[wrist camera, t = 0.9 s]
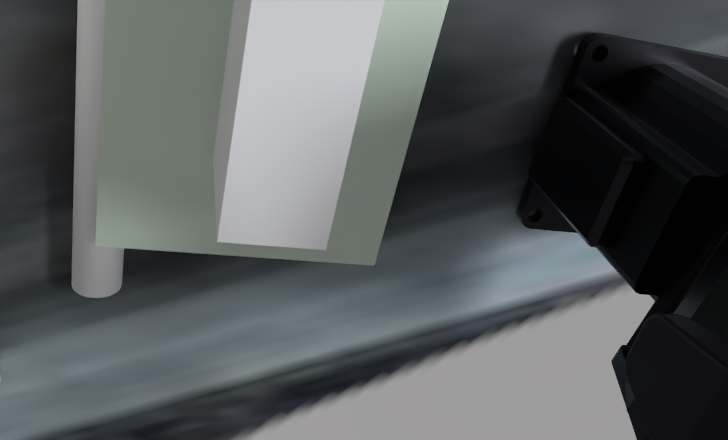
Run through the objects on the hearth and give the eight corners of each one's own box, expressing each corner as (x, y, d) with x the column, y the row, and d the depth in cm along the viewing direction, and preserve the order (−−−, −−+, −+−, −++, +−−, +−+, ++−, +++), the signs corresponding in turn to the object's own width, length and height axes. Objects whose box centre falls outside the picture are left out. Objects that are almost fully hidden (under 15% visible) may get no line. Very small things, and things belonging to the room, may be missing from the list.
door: (494, -278, 16) (631, -312, 11) (348, 279, 23) (389, 411, 18) (93, -411, 13) (33, -535, 8) (76, 262, 21) (39, 409, 16)
